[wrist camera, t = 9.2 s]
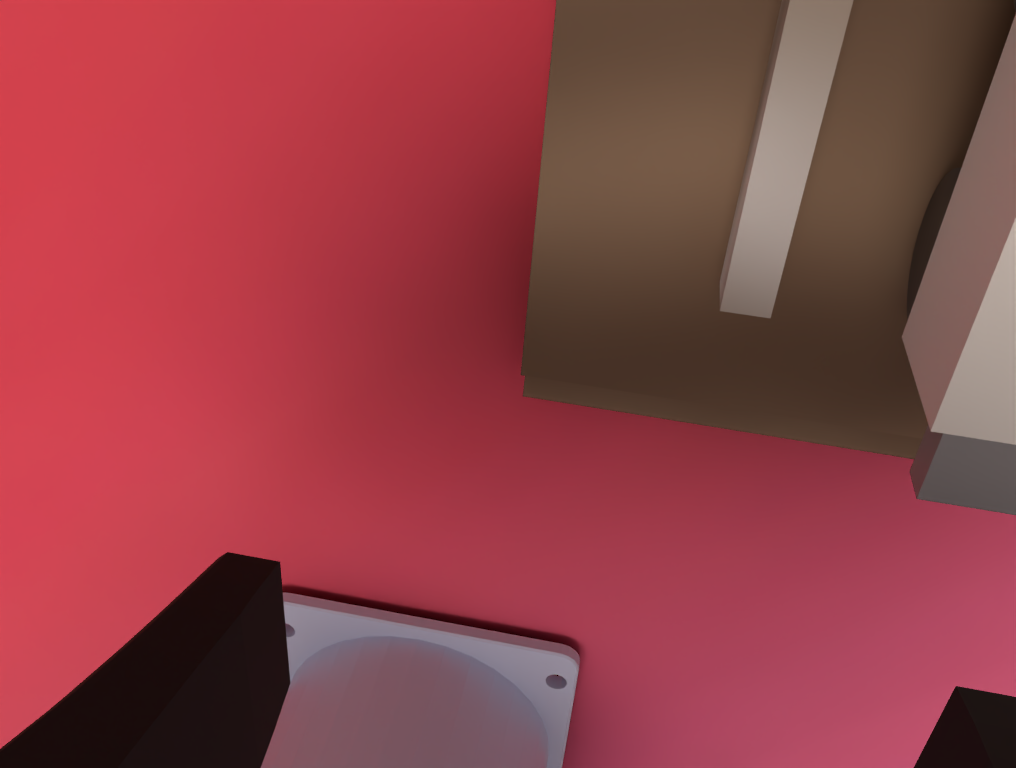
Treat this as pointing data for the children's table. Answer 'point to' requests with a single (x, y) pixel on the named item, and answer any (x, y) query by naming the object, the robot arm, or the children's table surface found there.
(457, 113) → the children's table surface
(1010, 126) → the beige box with tabs
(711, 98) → the dock
